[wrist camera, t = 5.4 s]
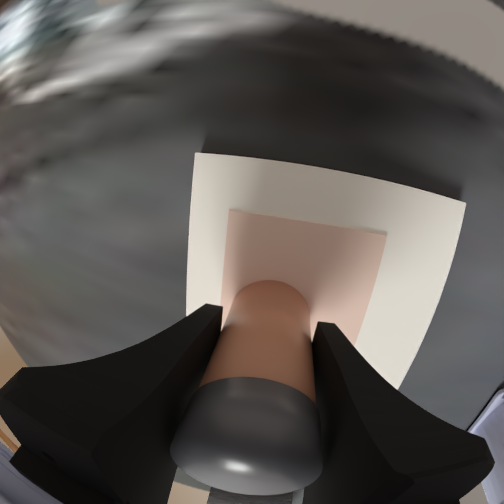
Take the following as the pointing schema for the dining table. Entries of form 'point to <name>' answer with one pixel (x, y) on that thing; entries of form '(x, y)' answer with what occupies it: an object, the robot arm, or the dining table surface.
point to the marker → (256, 400)
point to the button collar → (246, 498)
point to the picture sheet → (324, 248)
